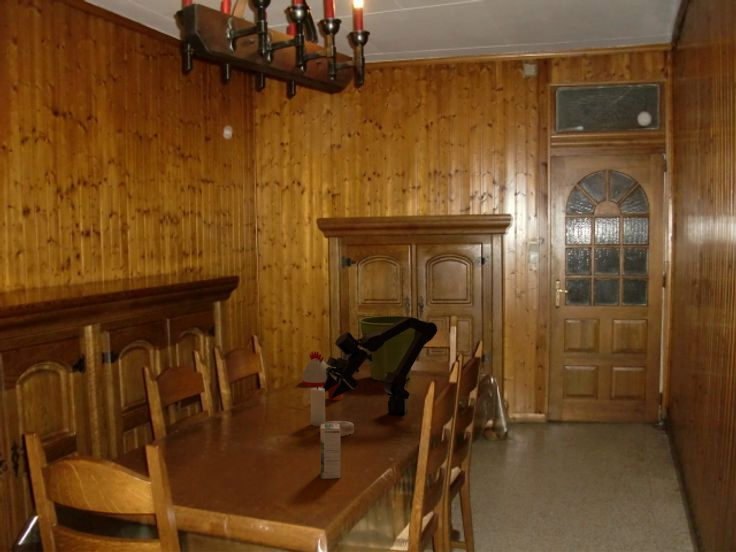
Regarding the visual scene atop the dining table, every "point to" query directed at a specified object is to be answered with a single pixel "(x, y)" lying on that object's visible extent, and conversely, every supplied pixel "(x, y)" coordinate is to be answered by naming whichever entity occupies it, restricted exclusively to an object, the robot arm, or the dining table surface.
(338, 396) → the coffee cup
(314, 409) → the candle
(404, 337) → the plant pot
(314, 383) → the white and red hat
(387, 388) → the robot arm
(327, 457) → the syrup box
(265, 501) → the dining table surface
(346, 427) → the base disc
